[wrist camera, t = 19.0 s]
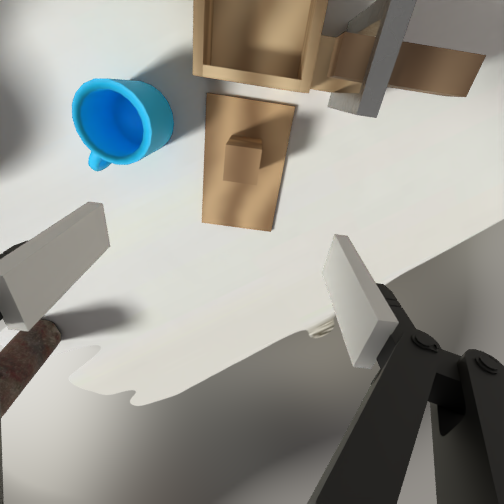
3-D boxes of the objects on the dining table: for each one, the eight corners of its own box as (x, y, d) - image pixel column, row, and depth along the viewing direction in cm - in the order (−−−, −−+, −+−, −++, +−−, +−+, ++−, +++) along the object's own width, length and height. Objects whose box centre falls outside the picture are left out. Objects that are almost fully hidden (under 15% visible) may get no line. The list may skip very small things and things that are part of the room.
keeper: (327, 107, 33) (356, 114, 23) (348, 22, 29) (395, -14, 19) (341, 109, 33) (376, 117, 23) (364, 24, 29) (419, -10, 19)
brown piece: (71, 340, 58) (-8, 444, 41) (41, 344, 59) (-48, 447, 42) (52, 316, 54) (-44, 419, 37) (20, 319, 55) (-87, 422, 38)
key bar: (326, 77, 26) (334, 75, 23) (336, 37, 24) (344, 31, 21) (445, 96, 26) (466, 96, 23) (462, 58, 24) (486, 55, 22)
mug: (132, 63, 31) (95, 56, 24) (186, 118, 34) (167, 125, 27) (85, 139, 36) (43, 151, 29) (136, 181, 39) (109, 201, 32)
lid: (203, 219, 42) (191, 244, 36) (208, 92, 33) (194, 93, 26) (270, 228, 43) (272, 255, 36) (294, 106, 34) (302, 110, 27)
